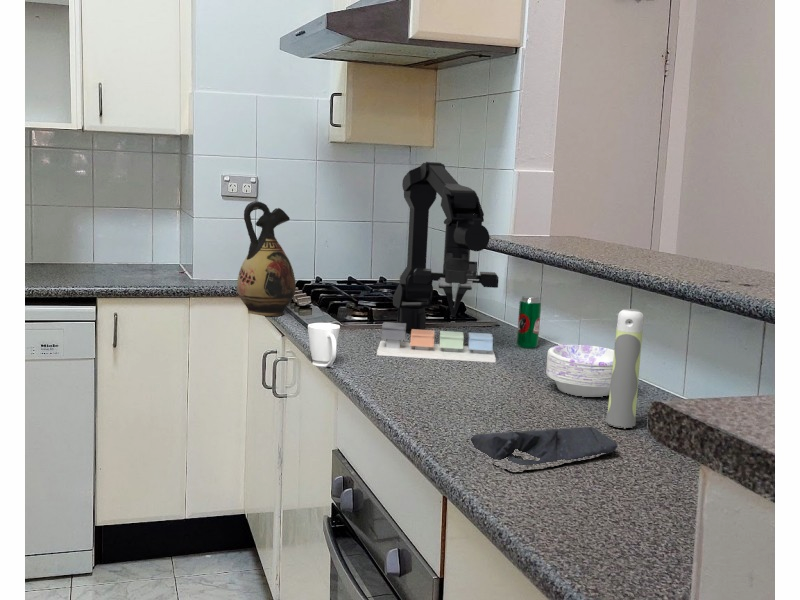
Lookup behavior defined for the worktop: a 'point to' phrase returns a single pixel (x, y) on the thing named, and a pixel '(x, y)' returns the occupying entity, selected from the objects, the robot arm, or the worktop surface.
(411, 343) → the key terracotta
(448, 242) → the robot arm
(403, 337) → the key charcoal
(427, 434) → the worktop surface
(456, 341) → the key sage
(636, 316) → the spray bottle
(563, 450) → the crumpled dark cloth
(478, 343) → the key blue
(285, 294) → the ceramic jug
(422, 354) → the keypad
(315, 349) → the cup
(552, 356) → the paper bowls
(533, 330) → the soda can
